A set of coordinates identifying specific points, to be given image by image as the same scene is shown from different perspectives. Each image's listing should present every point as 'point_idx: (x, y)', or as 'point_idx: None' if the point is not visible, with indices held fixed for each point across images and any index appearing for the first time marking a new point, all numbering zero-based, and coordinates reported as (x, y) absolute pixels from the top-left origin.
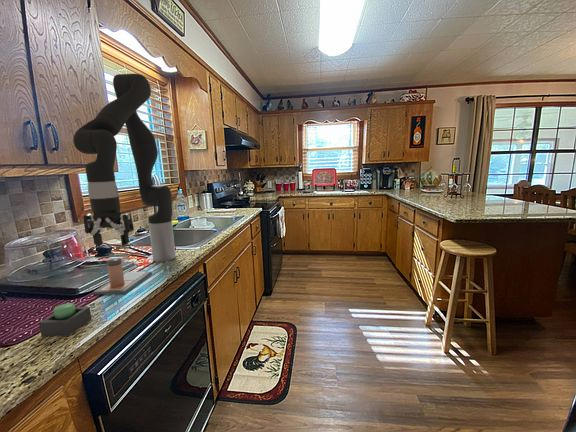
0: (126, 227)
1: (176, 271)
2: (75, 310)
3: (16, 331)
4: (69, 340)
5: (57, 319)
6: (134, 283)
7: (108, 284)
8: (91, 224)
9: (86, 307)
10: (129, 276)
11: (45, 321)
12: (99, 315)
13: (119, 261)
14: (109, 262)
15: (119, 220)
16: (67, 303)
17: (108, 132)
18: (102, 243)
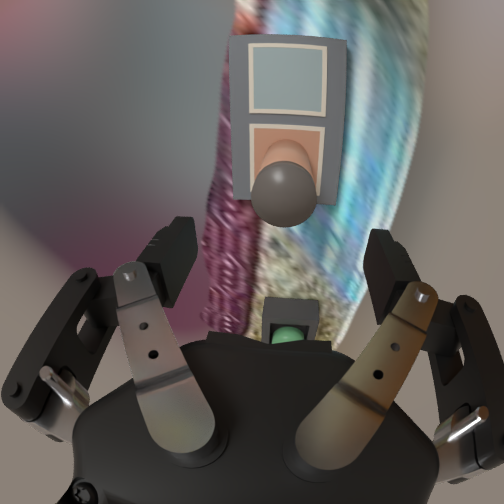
0: (444, 376)
1: (425, 38)
2: (302, 333)
3: (206, 314)
4: (317, 339)
5: (270, 326)
6: (340, 149)
7: (245, 150)
8: (81, 346)
9: (313, 321)
10: (282, 84)
11: None
12: (324, 287)
13: (315, 202)
14: (281, 226)
15: (397, 420)
16: (283, 340)
17: None
18: (191, 219)
